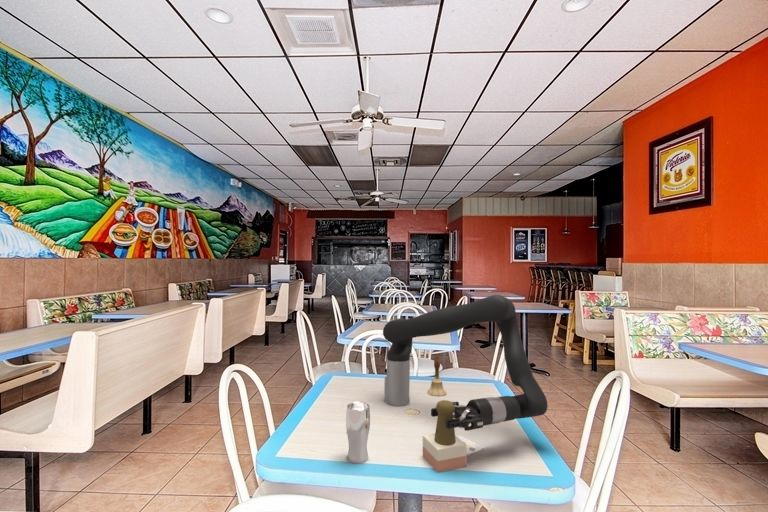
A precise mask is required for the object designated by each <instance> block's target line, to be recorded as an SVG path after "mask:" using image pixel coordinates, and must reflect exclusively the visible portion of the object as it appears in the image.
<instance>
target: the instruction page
mask: <svg viewBox="0 0 768 512" xmlns="http://www.w3.org/2000/svg"><path fill="white" fill-rule="evenodd" d="M457 437H458V438H459V439H460V440H461V441H462V442H464V443H465V444H466V456H468V457H469V456H472V455H473V454H476V453H478V452H480V451H483V450H485V448H484V447H483V446H481V445H478V444H477V443H474V442H473V441H470V440H469V439H467V438H464V437H463V436H461V435H458V436H457Z"/></svg>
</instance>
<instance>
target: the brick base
mask: <svg viewBox="0 0 768 512" xmlns="http://www.w3.org/2000/svg"><path fill="white" fill-rule="evenodd" d="M434 439H435V433H431V434H424V435H422V457H423V458H424V460H426V461H427V463H429V465H430V466H431V467H432V468H433V469H434V470H435V472H437V473H440V472H445V471H450V470H454V469H460V468H465V466H466V467H467V455H466V444H465V443H464V442H462V441H461V440H460V439H459V438H458V436H457V435H455V439H456V443H455V444H453V445H449V446H445V445H440V444H438V443H436V442H435V440H434Z"/></svg>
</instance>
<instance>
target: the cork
mask: <svg viewBox="0 0 768 512" xmlns="http://www.w3.org/2000/svg"><path fill="white" fill-rule="evenodd" d="M452 402H453V401H450V400H445V399H443V400H439V401H438V402H437V403H436V405H435V406H436V407H435V408H436V409H437V412H438V416H437V419H436V424H435V425H436V426H435V433H434V434H435V439H434V440H435V442H436V443H438V444H440V445H445V446H449V445H453V444H455V443H456V439H455V436H456V431H455V430H456V429H455V428H450V429H447V428H446V427H445V422H446V420H449V419H454V418H453V415H454V411H455V407H454V404H453V403H452Z"/></svg>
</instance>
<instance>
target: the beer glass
mask: <svg viewBox="0 0 768 512" xmlns="http://www.w3.org/2000/svg"><path fill="white" fill-rule="evenodd" d="M370 407H371V406H370V404H369V403H367V402H364V401H352V402H350V403H348V404H347V405H346V415H345V429H346V435H347V441H348V450H347V455H346V459H347V461H348V462H350V463H351V464H356V465H357V464H362V463H363V464H364V463H366V462H367V461H368V460H369V453H368V439H369V433H370V428H371V427H370V426H371V411H370V410H371V409H370Z"/></svg>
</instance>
